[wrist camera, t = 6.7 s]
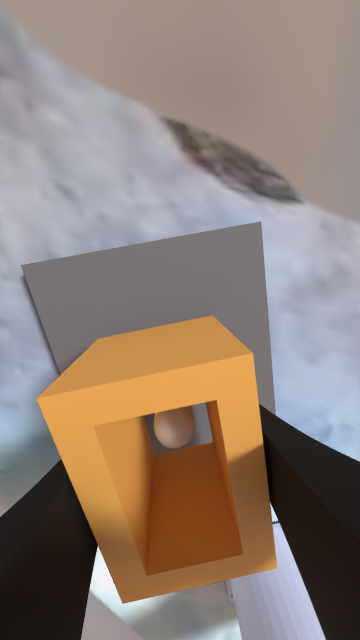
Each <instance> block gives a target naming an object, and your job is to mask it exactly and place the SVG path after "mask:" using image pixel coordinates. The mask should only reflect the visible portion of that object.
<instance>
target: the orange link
mask: <svg viewBox="0 0 360 640" xmlns="http://www.w3.org/2000/svg"><path fill="white" fill-rule="evenodd" d="M36 399H37V402H38V404H39V407H40V409H41V411H42V414H43V416H44V418H45V421H46V423H47V425H48V428H49V430H50V433H51V435H52V437H53V440H54V442H55V444H56V447H57V449H58V452H59V454H60V456H61V459H62V461H63V463H64V466H65V468H66V470H67V473H68V475H69V478H70V480H71V482H72V485H73V487H74V489H75V492H76V494H77V497H78V499H79V501H80V504H81V506H82V508H83V511H84V513H85V515H86V518H87V520H88V523H89V525H90V527H91V530H92V532H93V534H94V537H95V539H96V541H97V544H98V546H99V549H100V551H101V553H102V556H103V558H104V560H105V563H106V565H107V568H108V570H109V572H110V575H111V577H112V579H113V582H114V584H115V586H116V589H117V591H118V594H119V596H120V598H121V601H122V603H128V602H132V601H137V600H141V599H145V598H150V597H154V596H159V595H163V594H168V593H172V592H176V591H181V590H185V589H190V588H194V587H198V586H203V585H207V584H212V583H216V582H220V581H225V580H229V579H234V578H238V577H242V576H247V575H251V574H256V573H260V572H264V571H269V570H273V569H278V568H277V559H276V551H275V542H274V533H273V524H272V516H271V507H270V498H269V489H268V480H267V472H266V463H265V454H264V445H263V437H262V428H261V419H260V410H259V402H258V393H257V384H256V375H255V366H254V358H253V353H252V352H251V351H250V350H249V349H248V348H247V347H246V346H245V345H244V344H243V343H242V342H240V341H239V340H238V339H237V338H236V337H235V336H234V335H233V334H232V333H231V332H230V331H229V330H228V329H227V328H226V327H225V326H223V325H222V324H221V323H220V322H219V321H218V320H217V319H216V318H215V317H214V316H213V315H212V316H207V317H202V318H197V319H192V320H187V321H182V322H178V323H173V324H168V325H163V326H158V327H153V328H148V329H143V330H139V331H134V332H129V333H124V334H119V335H114V336H109V337H104V338H99V339H97V340H96V341H95V342H94V343H93V344H92V345H91V346H90V347H89V348H88V349H87V350H86V351H85V352H84V353H83V354H82V355H81V356H80V357H79V358H78V359H77V360H76V361H75V362H73V363H72V364H71V365H70V366H69V367H68V368H67V369H66V370H65V371H64V372H63V373H62V374H61V375H60V376H59V377H58V378H57V379H56V380H55V381H54V382H53V383H52V384H51V385H50V386H49V387H48V388H47V389H46V390H44V391H43V392H42V393H41V394H40V395H39V396H38V397H37V398H36ZM204 402H205V403H206V408H207V413H208V419H209V424H210V429H211V435H212V440H213V442H211V443H206V444H201V445H197V446H192V447H187V448H183V449H178V450H174V451H169V452H164V453H160V454H155V453H154V450H153V446H152V443H151V439H150V436H149V432H148V428H147V425H146V421H145V418H144V415H148V414H152V413H157V412H162V411H166V410H171V409H176V408H181V407H185V406H190V405H195V404H199V403H204Z"/></svg>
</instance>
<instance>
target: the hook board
mask: <svg viewBox="0 0 360 640" xmlns="http://www.w3.org/2000/svg"><path fill="white" fill-rule="evenodd" d="M21 267H22V270H23V273H24V275H25V278H26V281H27V284H28V287H29V289H30V292H31V295H32V298H33V300H34V303H35V306H36V309H37V311H38V314H39V317H40V320H41V323H42V325H43V328H44V331H45V334H46V336H47V339H48V342H49V345H50V347H51V350H52V353H53V356H54V358H55V361H56V364H57V367H58V370H59V372H60V375H61V374H62V373H63V372H64V371H65V370H66V369H67V368H68V367H69V366H70V365H71V364H72V363H73V362H75V361H76V360H77V359H78V358H79V357H80V356H81V355H82V354H83V353H84V352H85V351H86V350H87V349H88V348H89V347H90V346H91V345H92V344H93V343H94V342H95V341H96V340H97V339H99V338H104V337H109V336H114V335H119V334H124V333H129V332H134V331H139V330H143V329H148V328H153V327H158V326H163V325H168V324H173V323H178V322H182V321H187V320H192V319H197V318H202V317H207V316H212V315H213V316H214V317H215V318H216V319H217V320H218V321H219V322H220V323H221V324H222V325H223V326H225V327H226V328H227V329H228V330H229V331H230V332H231V333H232V334H233V335H234V336H235V337H236V338H237V339H238V340H239V341H240V342H242V343H243V344H244V345H245V346H246V347H247V348H248V349H249V350H250V351H251V352H252V353H253V358H254V366H255V375H256V384H257V393H258V402H259V404H261V405H262V406H263V407H265V408H266V409H267V410H269V411H270V412H272V413H273V414H274V415H276V413H275V399H274V386H273V373H272V360H271V346H270V333H269V320H268V307H267V294H266V280H265V267H264V254H263V241H262V227H261V222H256V223H250V224H245V225H239V226H234V227H228V228H223V229H217V230H212V231H206V232H201V233H195V234H190V235H184V236H179V237H174V238H168V239H163V240H157V241H152V242H146V243H141V244H135V245H130V246H124V247H119V248H113V249H108V250H102V251H97V252H91V253H86V254H80V255H75V256H70V257H64V258H59V259H53V260H48V261H42V262H37V263H31V264H26V265H21ZM144 418H145V421H146V425H147V428H148V432H149V436H150V439H151V443H152V446H153V450H154V453H155V454H160V453H164V452H169V451H174V450H178V449H183V448H187V447H192V446H197V445H201V444H206V443H211V442H213V440H212V435H211V429H210V424H209V419H208V413H207V408H206V403H205V402H204V403H199V404H195V405H190V406H185V407H181V408H176V409H171V410H166V411H162V412H157V413H152V414H148V415H144Z"/></svg>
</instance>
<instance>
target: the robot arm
mask: <svg viewBox="0 0 360 640" xmlns="http://www.w3.org/2000/svg"><path fill="white" fill-rule="evenodd" d="M259 410H260V419H261V428H262V437H263V445H264V454H265V463H266V472H267V480H268V489H269V498H270V503H271V505H272V507H273V509H274V512H275V514H276V516H277V518H278V521H279V523H277V524H273V533H274V542H275V551H276V559H277V568H278V569H273V570H269V571H264V572H260V573H256V574H251V575H247V576H242V577H238V578H234V579H229V580H225V581H226V586H227V592H228V597H229V602H230V604H232V605H235V608H236V613H237V618H238V622H239V627H240V632H241V637H242V640H360V462H359V461H357V460H355V459H353V458H351V457H349V456H346V455H344V454H342V453H340V452H338V451H336V450H334V449H332V448H330V447H328V446H326V445H324V444H322V443H320V442H319V441H317V440H315V439H313V438H311V437H309V436H307V435H306V434H304V433H302V432H301V431H299V430H297V429H296V428H294V427H293V426H291V425H289V424H288V423H286V422H285V421H283V420H282V419H280V418H279V417H277V416H276V415H274V414H273V413H272V412H270V411H269V410H267V409H266V408H265V407H263V406H262V405H261V404H259ZM97 547H98V544H97V541H96V539H95V537H94V534H93V532H92V530H91V527H90V525H89V523H88V520H87V518H86V515H85V513H84V511H83V508H82V506H81V504H80V501H79V499H78V497H77V494H76V492H75V489H74V487H73V485H72V482H71V480H70V478H69V475H68V473H67V470H66V468H65V466H64V463H63V461H62V459H61V460H60V461H59V462H58V463H57V464H56V465H55V466H54V467H53V468H52V469H51V470H50V471H49V472H48V473H47V474H46V475H45V476H44V477H43V478H42V479H41V480H40V481H39V482H38V483H37V484H36V485H35V486H34V487H33V488H32V489H31V490H30V491H29V492H28V493H27V494H25V495H24V496H23V497H22V498H21V499H20V500H19V501H18V502H17V503H16V504H14V505H13V506H12V507H11V508H10V509H9V510H8V511H7V512H5V513H4V514H3V515H2V516H1V517H0V640H81V635H82V629H83V622H84V617H85V611H86V606H87V599H88V593H89V588H90V583H91V578H92V572H93V567H94V562H95V556H96V552H97Z"/></svg>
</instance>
